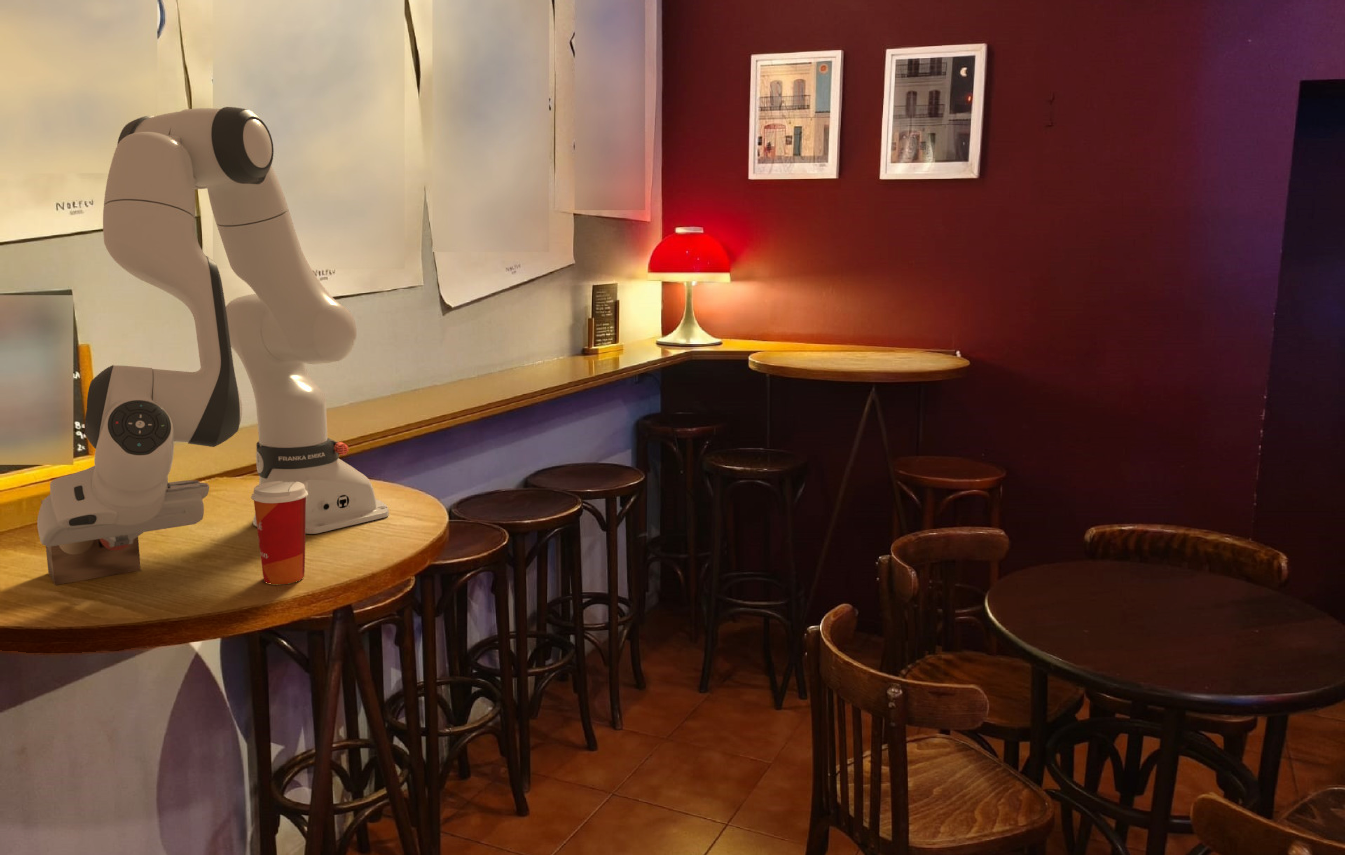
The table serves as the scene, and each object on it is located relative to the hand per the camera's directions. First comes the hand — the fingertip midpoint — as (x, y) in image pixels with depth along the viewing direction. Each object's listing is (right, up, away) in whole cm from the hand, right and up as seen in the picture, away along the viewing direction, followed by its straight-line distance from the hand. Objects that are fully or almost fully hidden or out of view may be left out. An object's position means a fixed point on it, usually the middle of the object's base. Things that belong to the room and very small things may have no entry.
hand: (119, 541), depth 143 cm
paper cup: (+22, -6, +4) cm, 23 cm away
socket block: (-6, -5, +4) cm, 9 cm away
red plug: (-4, 0, +5) cm, 6 cm away
